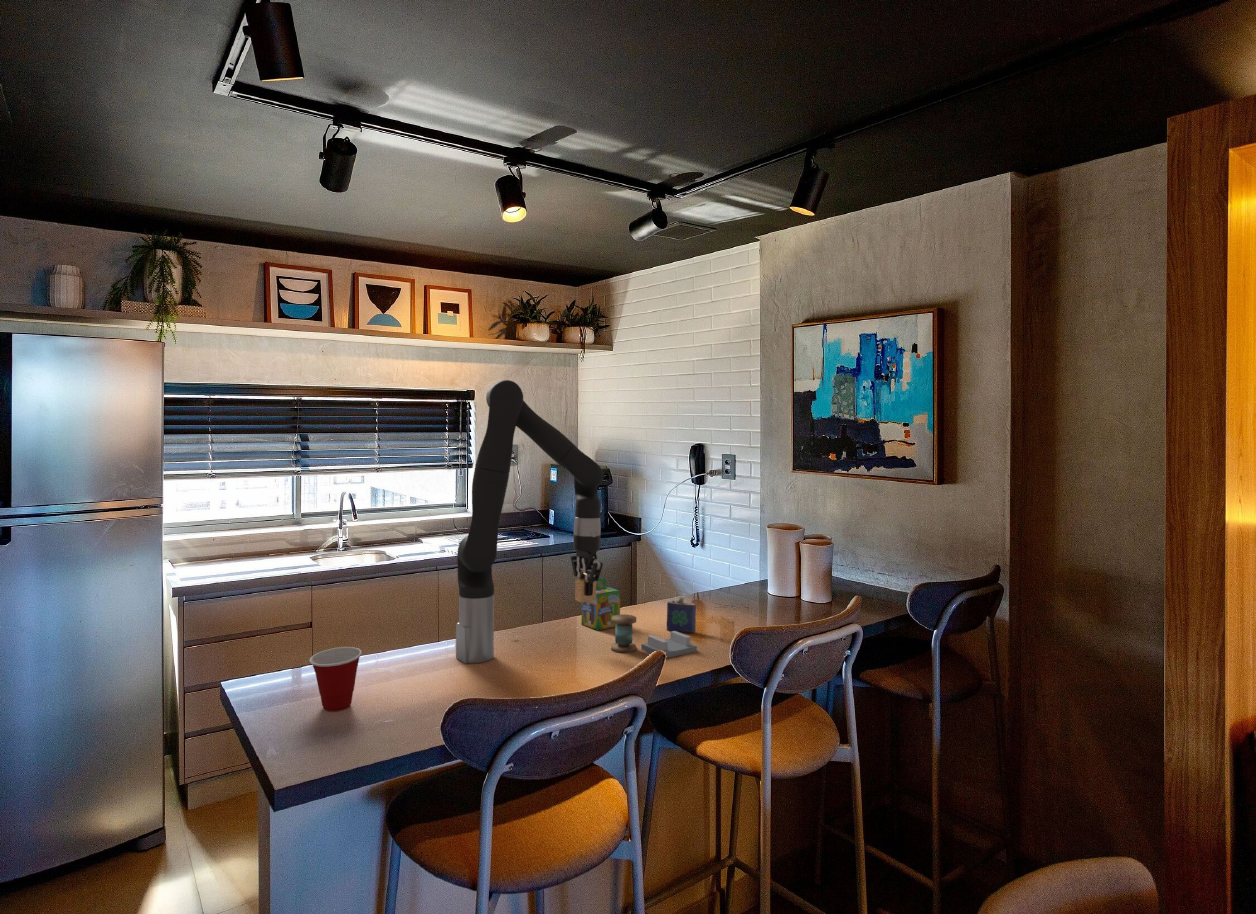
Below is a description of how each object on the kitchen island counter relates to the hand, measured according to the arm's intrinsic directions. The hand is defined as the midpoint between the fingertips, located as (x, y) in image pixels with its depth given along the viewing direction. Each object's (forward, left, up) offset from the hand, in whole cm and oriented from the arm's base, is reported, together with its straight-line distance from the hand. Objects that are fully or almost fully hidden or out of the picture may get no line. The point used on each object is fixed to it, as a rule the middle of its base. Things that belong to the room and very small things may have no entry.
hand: (585, 593), depth 209 cm
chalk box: (+17, +18, -16) cm, 30 cm away
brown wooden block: (0, 0, -2) cm, 2 cm away
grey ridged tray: (+19, -14, -16) cm, 28 cm away
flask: (+34, -1, -16) cm, 38 cm away
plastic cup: (-69, -6, -16) cm, 71 cm away
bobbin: (+9, -6, -16) cm, 19 cm away
